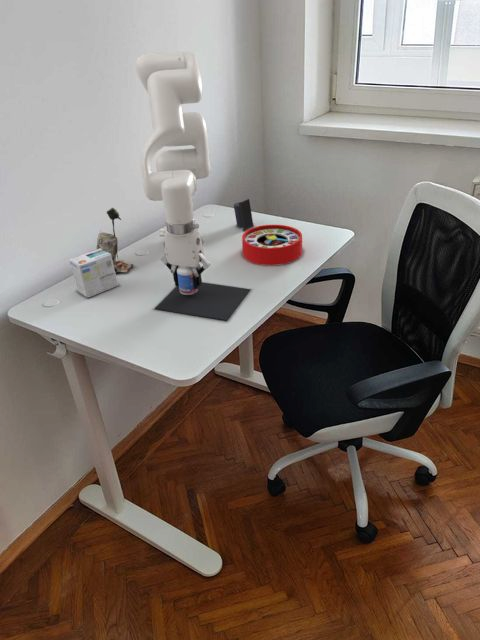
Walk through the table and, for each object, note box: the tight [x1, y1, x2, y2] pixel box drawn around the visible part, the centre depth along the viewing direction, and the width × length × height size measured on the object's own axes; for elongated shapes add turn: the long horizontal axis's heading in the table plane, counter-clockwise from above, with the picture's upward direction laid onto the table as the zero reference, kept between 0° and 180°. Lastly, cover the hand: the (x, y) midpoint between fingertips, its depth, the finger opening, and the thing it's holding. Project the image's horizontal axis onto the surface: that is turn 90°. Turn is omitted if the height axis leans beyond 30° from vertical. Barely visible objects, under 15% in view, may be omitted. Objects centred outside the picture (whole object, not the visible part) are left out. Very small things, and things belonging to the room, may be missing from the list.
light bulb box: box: [68, 248, 119, 299], centre depth 155 cm, size 11×7×11 cm, turn 134°
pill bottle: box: [177, 266, 198, 295], centre depth 149 cm, size 6×5×10 cm
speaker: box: [233, 198, 255, 232], centre depth 193 cm, size 8×6×10 cm
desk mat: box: [154, 282, 251, 322], centre depth 151 cm, size 22×18×1 cm
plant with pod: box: [96, 207, 134, 274], centre depth 163 cm, size 8×11×20 cm
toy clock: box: [241, 224, 303, 266], centre depth 174 cm, size 20×6×20 cm
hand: (188, 284), depth 151 cm, fingers closed on pill bottle, 5 cm apart
